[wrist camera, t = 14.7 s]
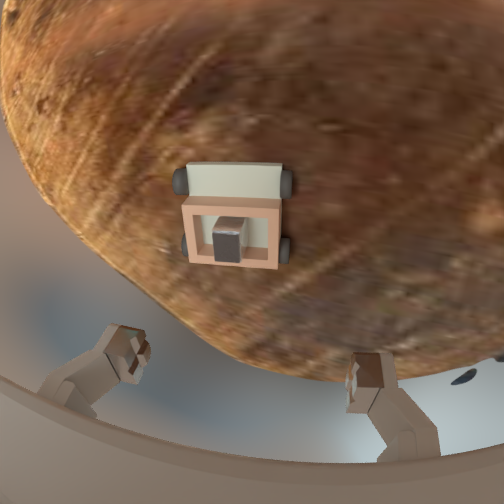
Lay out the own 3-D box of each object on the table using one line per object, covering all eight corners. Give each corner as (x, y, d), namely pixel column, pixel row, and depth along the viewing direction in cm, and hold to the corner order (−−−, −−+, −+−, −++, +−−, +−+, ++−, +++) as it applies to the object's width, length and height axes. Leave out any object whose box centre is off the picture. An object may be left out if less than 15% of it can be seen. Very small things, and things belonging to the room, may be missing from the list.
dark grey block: (222, 211, 49) (210, 231, 43) (247, 212, 48) (239, 233, 43) (224, 239, 52) (213, 262, 46) (248, 241, 51) (240, 264, 46)
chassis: (180, 162, 47) (167, 172, 43) (292, 163, 44) (291, 174, 40) (191, 250, 56) (181, 266, 51) (289, 257, 53) (287, 275, 49)
